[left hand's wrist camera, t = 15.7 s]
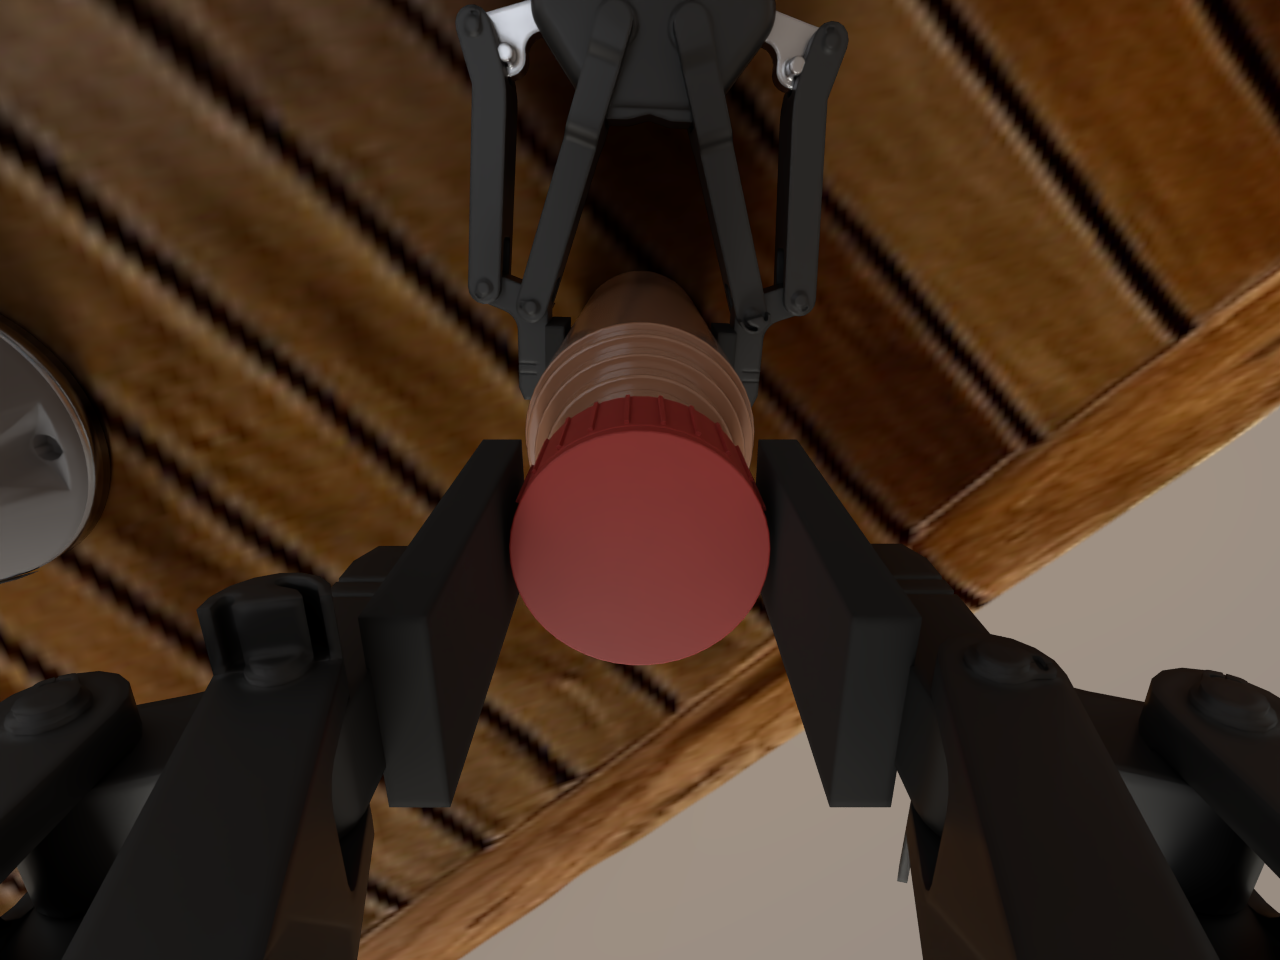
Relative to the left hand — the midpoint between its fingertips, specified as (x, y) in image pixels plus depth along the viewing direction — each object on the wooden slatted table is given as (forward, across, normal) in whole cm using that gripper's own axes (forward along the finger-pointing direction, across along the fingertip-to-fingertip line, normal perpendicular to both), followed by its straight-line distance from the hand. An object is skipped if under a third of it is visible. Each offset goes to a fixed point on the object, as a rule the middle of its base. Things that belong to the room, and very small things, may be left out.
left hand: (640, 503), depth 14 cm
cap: (-2, 0, 0) cm, 2 cm away
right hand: (+16, 0, -5) cm, 17 cm away
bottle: (+22, 0, 0) cm, 22 cm away
